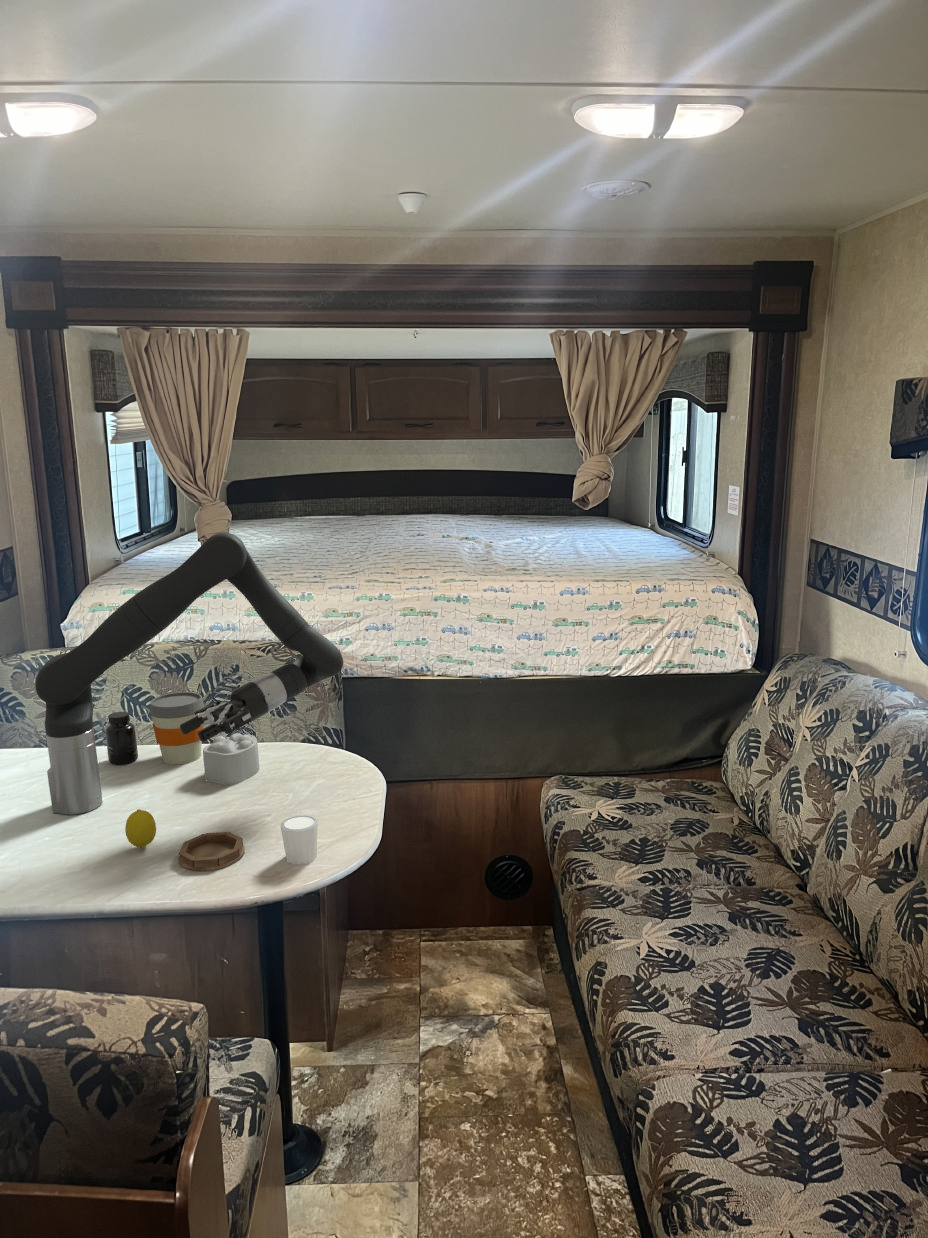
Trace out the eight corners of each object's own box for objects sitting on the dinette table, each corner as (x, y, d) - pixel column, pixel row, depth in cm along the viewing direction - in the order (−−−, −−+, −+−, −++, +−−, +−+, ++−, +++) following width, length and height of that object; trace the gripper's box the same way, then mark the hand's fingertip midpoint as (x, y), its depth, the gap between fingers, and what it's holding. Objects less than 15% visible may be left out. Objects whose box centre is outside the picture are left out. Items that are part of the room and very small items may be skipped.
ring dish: (172, 873, 157) (171, 863, 157) (186, 842, 169) (185, 833, 168) (239, 869, 158) (238, 859, 158) (249, 838, 170) (248, 829, 170)
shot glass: (324, 848, 165) (322, 814, 164) (314, 866, 158) (312, 831, 157) (289, 848, 166) (286, 814, 164) (278, 865, 159) (275, 830, 158)
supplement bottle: (103, 765, 210) (97, 718, 207) (118, 755, 216) (113, 709, 214) (129, 766, 209) (123, 719, 206) (144, 756, 215) (138, 710, 213)
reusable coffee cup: (153, 753, 217) (147, 696, 214) (205, 745, 222) (199, 689, 218) (157, 770, 206) (150, 710, 202) (211, 761, 210) (206, 702, 207)
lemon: (132, 842, 170) (128, 804, 168) (161, 840, 170) (157, 802, 168) (124, 856, 164) (119, 817, 163) (153, 854, 165) (149, 815, 163)
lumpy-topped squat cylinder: (199, 780, 200) (195, 744, 198) (235, 760, 211) (232, 726, 209) (235, 786, 195) (231, 750, 193) (270, 766, 207) (267, 731, 205)
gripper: (237, 677, 185) (169, 712, 176) (270, 685, 175) (198, 723, 165) (249, 707, 188) (182, 744, 178) (282, 717, 177) (212, 757, 168)
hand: (190, 733), depth 172 cm, fingers open, 8 cm apart
